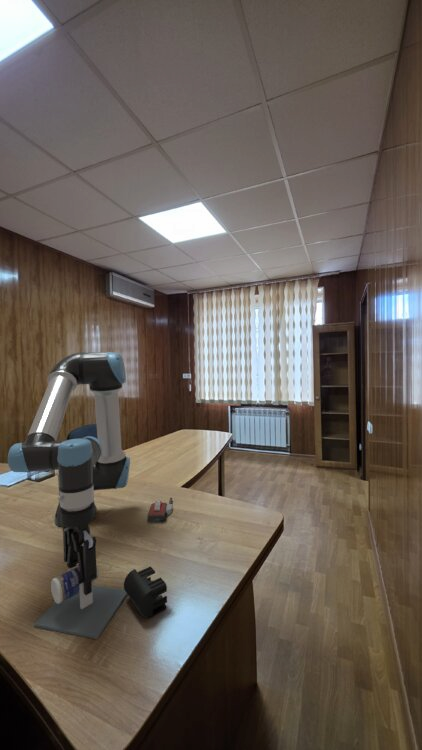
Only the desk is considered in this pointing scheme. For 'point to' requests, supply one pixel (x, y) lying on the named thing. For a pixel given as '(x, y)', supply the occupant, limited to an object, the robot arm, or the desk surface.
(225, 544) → the desk surface
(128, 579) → the end cap
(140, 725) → the desk surface
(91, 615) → the mat
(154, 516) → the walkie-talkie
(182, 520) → the desk surface
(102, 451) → the robot arm
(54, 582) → the pill bottle
